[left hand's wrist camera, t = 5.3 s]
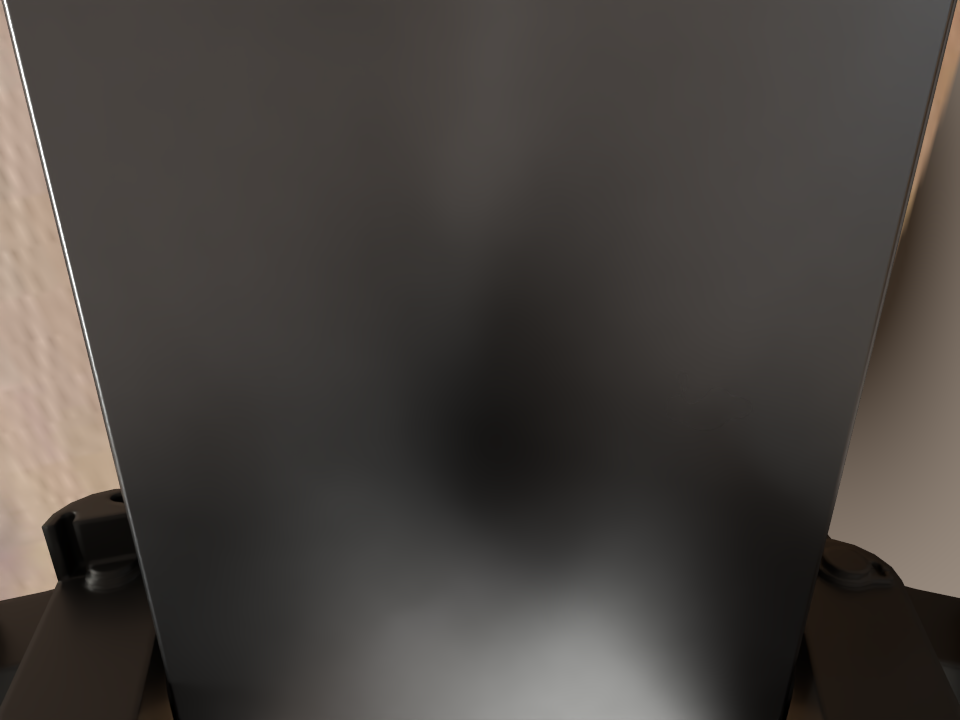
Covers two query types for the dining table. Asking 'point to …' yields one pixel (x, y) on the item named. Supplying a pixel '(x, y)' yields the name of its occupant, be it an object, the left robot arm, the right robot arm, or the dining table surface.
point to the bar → (479, 333)
